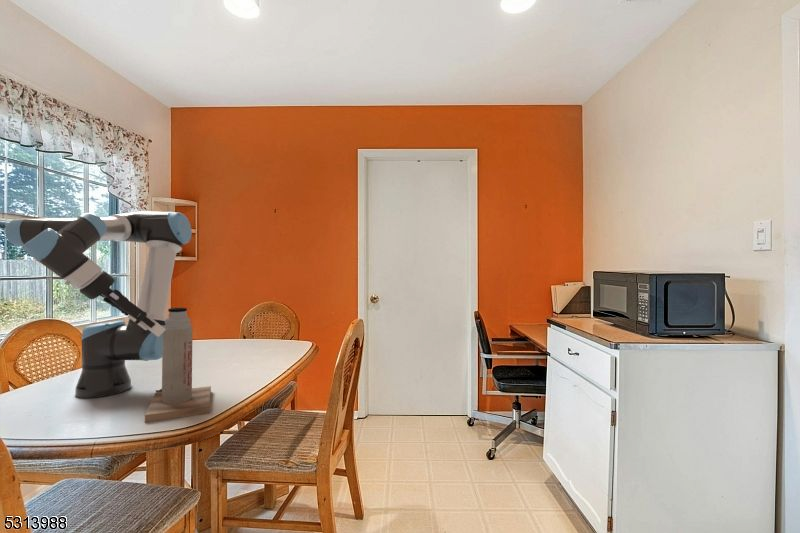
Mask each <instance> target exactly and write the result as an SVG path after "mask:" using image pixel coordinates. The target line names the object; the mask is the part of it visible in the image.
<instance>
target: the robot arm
mask: <svg viewBox="0 0 800 533" xmlns="http://www.w3.org/2000/svg"><path fill="white" fill-rule="evenodd" d="M4 229H5V230H4V232H5V233H4V234H5V237H6V239H7V240H8V242H9V243H10V244H12V245H14V246H16V247H23V250H24V251H25V252H26V253H28V255H30V256H31V257H32V258H33V259H35V261H36V262H38V263H40V264H41V265H42V266H44V267H46V269H48V270H50V271H52V272H53V273H54V274H55V275H56V276H57V277H60V278H61V279H63V280H64V281H65V282H64V285H65V286H69V285H70V286H72V287H73V288H75V289H76V290H78V289H79V292H80V293H81V294H82V295H83V296H84V297H86V298H87V299H89V300H94V299H96V298H99V297H102V298H103V299H102V301H104V303H106V304H109V306H111V307H112V308H115V309H117V310H118V311H120V313H122V314H123V315H124V316H127V317H128V323H127V325H126V323H125V321H124V320H115V321H107V322H106V321H105V322H101V323H97V324H96V323H94V324H91V325H87V326H84V328H83V329H82V333H81V334H82V335H81V340H80V341H81V373H80V375H79V378H78V379H77V380H78V381H77V383H76V386H75V390H74V391H75V392H74V396H76V397H77V398H82V399H83V398H84V399H85V398H86V399H91V398H101V397H107V396H111V395H112V396H113V395H115V394H121V393H123V392H125V391H128V390H129V389H131V387H132V379H131V377H130V374H129V372H128V369H127V367H126V361H144V362H147V361H156V360H160V359H162V333H163V332H164V331H165V330H166V329H165V328H164V326H165V320H166V319H167V318H166V316H165V315H166V310H167V304H168V298H169V294H170V288H171V283H172V280H173V279H172V278H173V273H174V268H175V262H176V258H177V254H178V253H179V252H181V251H182V250H183V246H184V245H186V244H188V243H190V241H191V239H192V236H193V235H192V225H191V223H190V221H189V219H188V217H187V216H186V215H185V214H184V213H182V212H178V211H177V212H175V211H136V212H130V213H119V214H111V215H109V216H107V217H101V216H99V215H96V214H94V213H92V212H91V213H90V212H85V213H82V214H81V215H80V214H79V215H78V216H76V217H75V218H74V217H72V218H71V217H69V218H65V217H63V218H17V219H12V220H11V221H9V222H8V223H7V225H6V226H5V228H4ZM109 240H111V241H113V242H116V243H117V242H119V243H121V242H129V243H130V242H131V243H132V242H133V243H140V244H141V243H143V244H145V246H146V247H147V248H148V253H147V259H146V263H145V268H144V273H143V276H142V282H141V286H140V292H139V296H138V299H137V301H138V302H137V305H135V304H134V303H133V302H132V301H130V299H128V298H127V297H126V296H125V295H124V294H123V293H122V292H121V291H120V290H118V289H112V288H110V287H111V286H112V285H113V284H114V283H115V281H116V279H115V278H114V277H113V276H112V275H110V274H109V273H108V272H106V271H102V270H103V269H102V267H101V266H99V265H98V264H97V263H95V262H94V260H92V259H91V258H90V257H88V256H87V255H86V254H85V252H86V251H88V249H90V248H92V246H94V244H96V243H98V242H99V241H109ZM183 244H184V245H183Z"/></svg>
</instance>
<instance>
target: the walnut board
mask: <svg viewBox="0 0 800 533" xmlns="http://www.w3.org/2000/svg"><path fill="white" fill-rule="evenodd" d="M211 396H212V386H211V385H209V386H200V387H192V398H191V399H190V400H188V401H185V402H181V403H175V404H166V403H163V402H162V392H156V391H155V393H154V396H153V398H152V399H151V401H150V404H149V405H148V408H147V410H146V412H145V414H144V423H149V422H155V421H156V422H157V421H162V420H171V419H178V418H177V417H179V418H184V416H186V417H190V416H191V415H193V416H199V415H198V414H200V415H206V414H205V413H207V414H210V411H211V398H210V397H211Z"/></svg>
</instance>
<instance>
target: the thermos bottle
mask: <svg viewBox="0 0 800 533" xmlns="http://www.w3.org/2000/svg"><path fill="white" fill-rule="evenodd" d="M187 310H188V308H186V307H170V308H168V318H166V320H165V326H164V328H165V329H166V330H165V331H164V332H163V333H162V358H161V389H162V402H163V403H166V404H175V403H181V402H185V401H188V400H190V399H191V398H192V388H193V331H194V330H193V326H194V325H192V324H191V318H190V317H188V312H187Z"/></svg>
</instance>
